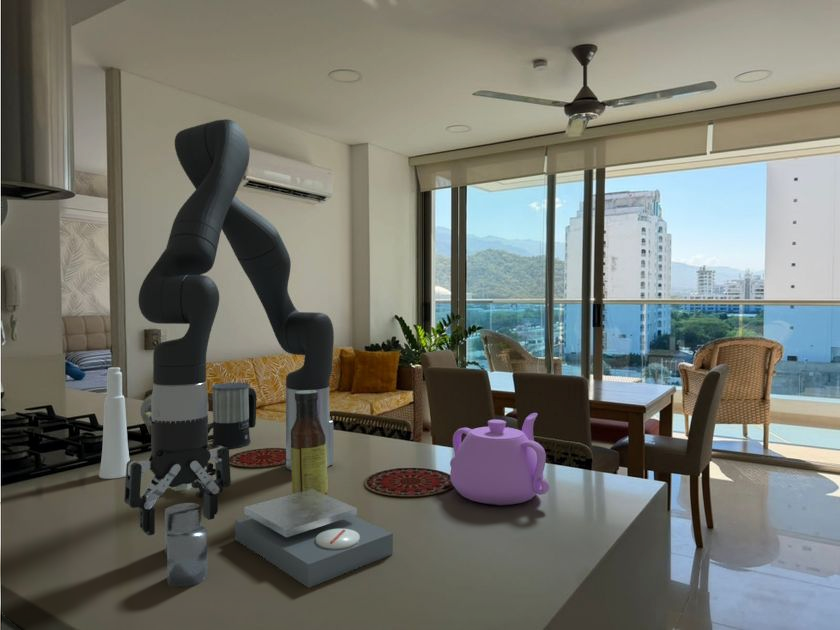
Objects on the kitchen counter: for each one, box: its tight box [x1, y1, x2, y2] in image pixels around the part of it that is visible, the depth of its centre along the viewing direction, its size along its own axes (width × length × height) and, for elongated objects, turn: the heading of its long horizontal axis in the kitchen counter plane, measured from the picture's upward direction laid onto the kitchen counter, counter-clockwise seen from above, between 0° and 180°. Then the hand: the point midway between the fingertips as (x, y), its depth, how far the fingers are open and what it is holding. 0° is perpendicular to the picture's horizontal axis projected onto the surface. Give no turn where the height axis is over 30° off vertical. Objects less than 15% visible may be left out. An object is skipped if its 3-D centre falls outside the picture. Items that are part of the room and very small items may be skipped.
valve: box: [170, 461, 224, 499], centre depth 109 cm, size 7×7×12 cm
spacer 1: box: [164, 502, 202, 556], centre depth 84 cm, size 5×5×6 cm
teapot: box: [449, 412, 550, 506], centre depth 110 cm, size 22×22×14 cm
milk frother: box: [208, 382, 258, 449], centre depth 147 cm, size 14×16×15 cm
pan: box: [243, 489, 358, 537], centre depth 87 cm, size 12×12×1 cm
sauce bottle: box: [290, 390, 329, 496], centre depth 103 cm, size 7×6×20 cm
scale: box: [234, 515, 394, 589], centre depth 85 cm, size 14×20×4 cm
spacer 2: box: [166, 525, 208, 589], centre depth 76 cm, size 5×5×6 cm
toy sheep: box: [140, 394, 152, 435], centre depth 157 cm, size 11×17×11 cm, turn 1°
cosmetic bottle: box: [98, 366, 131, 480], centre depth 119 cm, size 6×6×22 cm
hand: (180, 525), depth 84 cm, fingers open, 8 cm apart
